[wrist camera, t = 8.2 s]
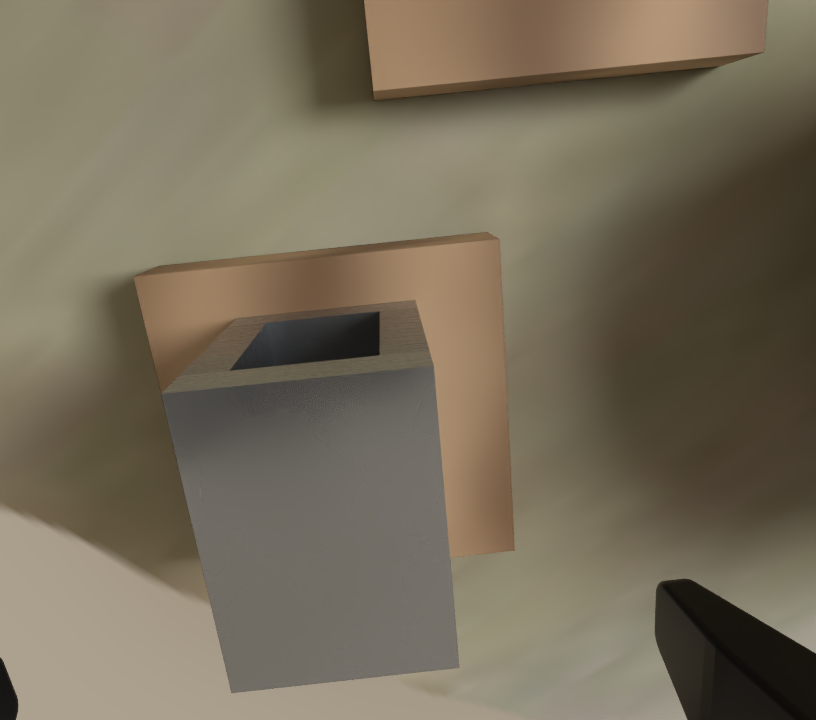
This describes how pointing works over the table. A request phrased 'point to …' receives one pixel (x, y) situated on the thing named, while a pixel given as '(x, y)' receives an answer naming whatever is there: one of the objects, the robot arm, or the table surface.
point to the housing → (318, 495)
